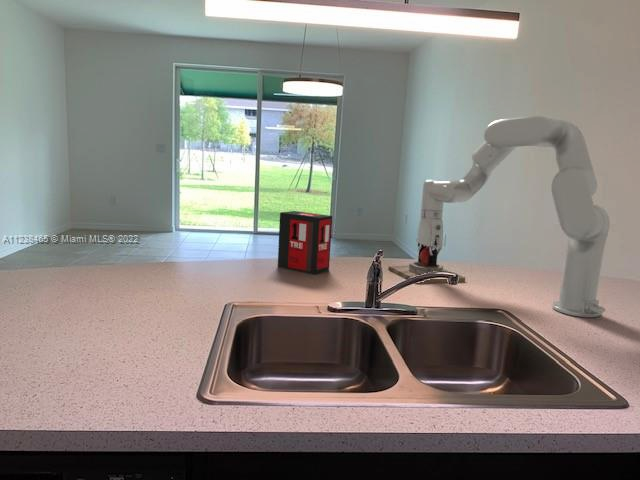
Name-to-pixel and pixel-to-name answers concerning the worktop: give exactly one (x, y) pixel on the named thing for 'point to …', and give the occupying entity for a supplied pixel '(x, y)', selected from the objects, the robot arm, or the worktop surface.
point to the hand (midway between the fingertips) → (427, 263)
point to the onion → (425, 256)
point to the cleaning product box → (304, 242)
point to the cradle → (419, 271)
